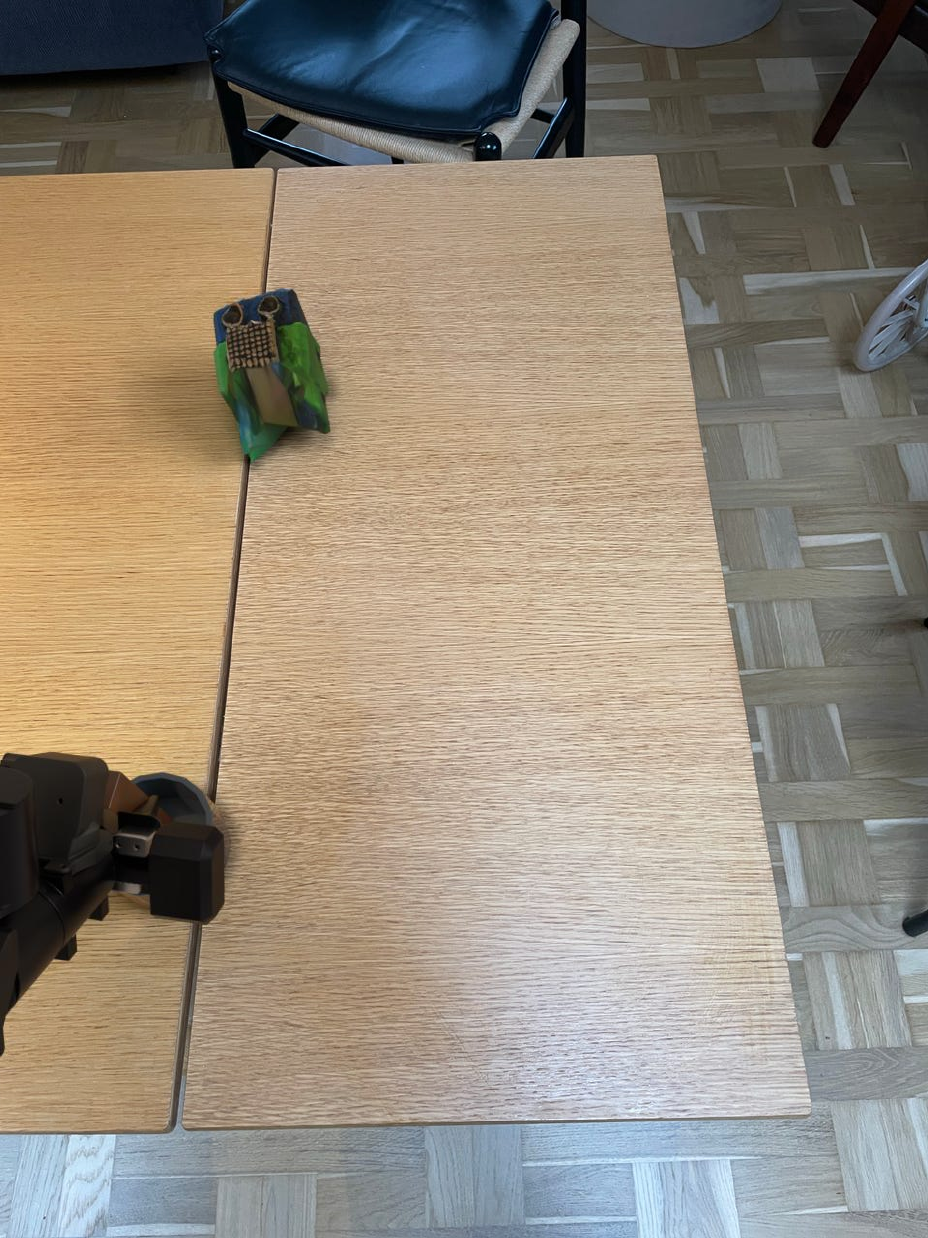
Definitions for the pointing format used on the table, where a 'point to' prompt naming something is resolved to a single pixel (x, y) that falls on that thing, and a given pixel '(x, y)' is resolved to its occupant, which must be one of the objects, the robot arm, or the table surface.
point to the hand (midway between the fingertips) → (137, 798)
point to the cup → (180, 809)
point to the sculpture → (269, 369)
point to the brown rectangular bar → (124, 801)
